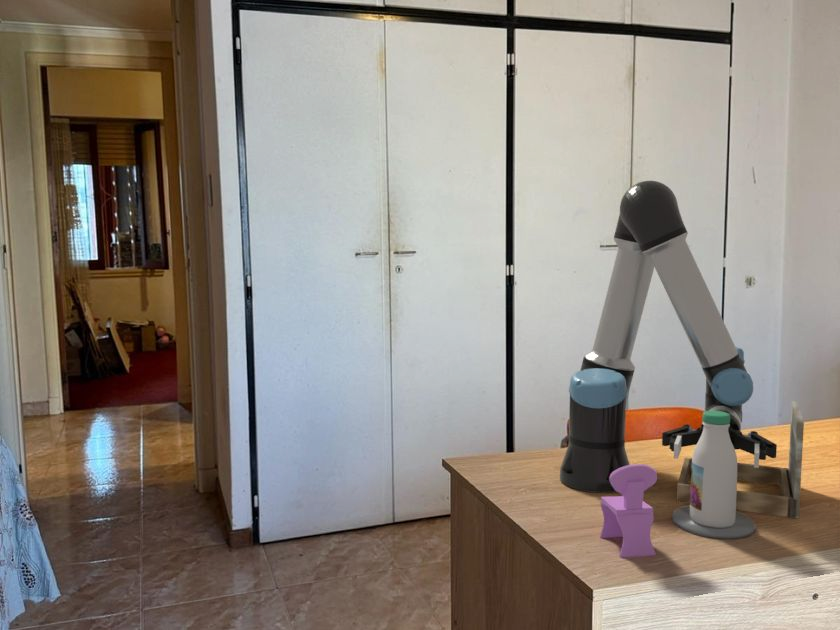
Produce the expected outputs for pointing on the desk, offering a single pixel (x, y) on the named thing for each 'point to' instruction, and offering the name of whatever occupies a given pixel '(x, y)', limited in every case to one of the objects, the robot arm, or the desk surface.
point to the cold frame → (764, 478)
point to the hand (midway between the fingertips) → (715, 455)
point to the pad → (738, 530)
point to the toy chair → (630, 510)
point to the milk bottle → (714, 474)
